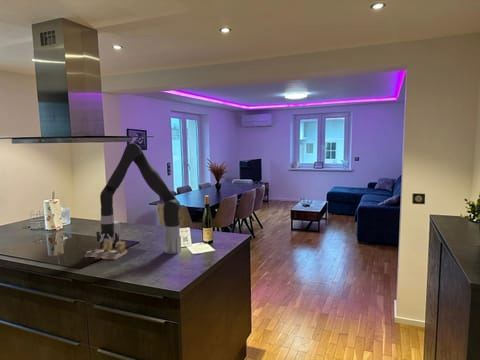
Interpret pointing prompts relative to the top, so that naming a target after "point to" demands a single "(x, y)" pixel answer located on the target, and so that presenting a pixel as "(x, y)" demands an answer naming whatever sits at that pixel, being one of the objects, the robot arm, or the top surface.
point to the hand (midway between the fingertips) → (108, 248)
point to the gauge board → (112, 254)
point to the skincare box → (116, 230)
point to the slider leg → (107, 246)
